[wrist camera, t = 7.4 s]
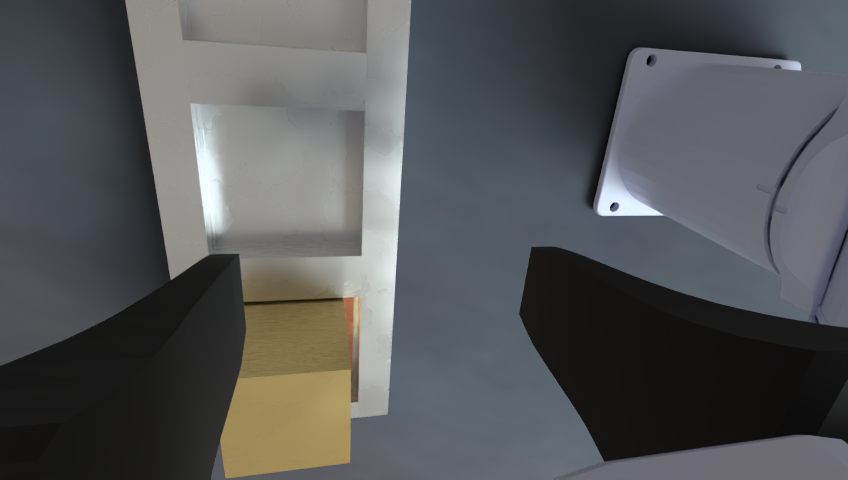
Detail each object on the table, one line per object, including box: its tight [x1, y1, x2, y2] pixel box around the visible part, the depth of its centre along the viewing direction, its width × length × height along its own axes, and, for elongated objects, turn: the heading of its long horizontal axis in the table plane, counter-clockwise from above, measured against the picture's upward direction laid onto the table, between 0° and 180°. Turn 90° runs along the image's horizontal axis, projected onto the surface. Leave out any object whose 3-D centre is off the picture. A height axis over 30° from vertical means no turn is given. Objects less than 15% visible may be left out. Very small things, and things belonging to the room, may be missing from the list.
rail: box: [125, 0, 411, 418], centre depth 19 cm, size 9×24×2 cm, turn 175°
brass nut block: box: [220, 298, 351, 478], centre depth 19 cm, size 4×4×6 cm
